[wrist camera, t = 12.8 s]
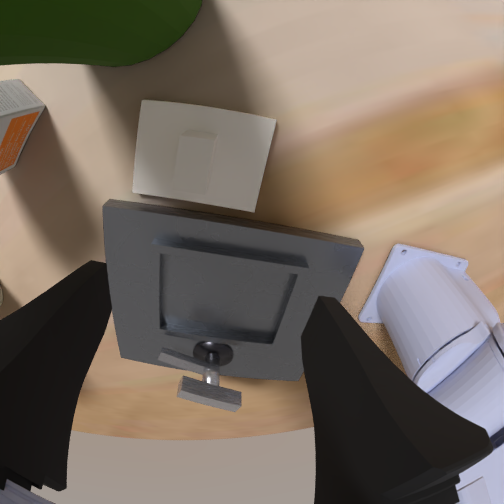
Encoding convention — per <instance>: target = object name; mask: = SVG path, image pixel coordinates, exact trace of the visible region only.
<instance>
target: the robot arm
mask: <svg viewBox="0 0 504 504" xmlns="http://www.w3.org/2000/svg"><path fill="white" fill-rule="evenodd" d="M403 250H404V252H402V251H403ZM401 252H402V253H401ZM467 266H468V261H467V260H466V259H462V258H458V257H454V256H450V255H446V254H442V253H438V252H434V251H429V250H425V249H421V248H416V247H412V246H408V245H403V244H396V245H394V246H393V248H392V250H391V252H390V254H389V257H388V259H387V261H386V263H385V265H384V267H383V269H382V271H381V273H380V275H379V277H378V279H377V282H376V284H375V285H374V287H373V289H372V291H371V293H370V295H369V297H368V299H367V301H366V303H365V305H364V307H363V308H362V310H361V312H360V314H359V316H358V318H359V321H360V322H368V323H384V325H385V327H386V329H387V331H388V333H389V336H390V338H391V340H392V342H393V344H394V346H395V349H396V351H397V353H398V355H399V358H400V360H401V362H402V365H403V367H404V369H405V372H406V374H407V376H408V377H407V376H406V375H405V374H404V373H403V372H402V371H401V370H400V369H399V368H398V367H396V366H395V365H394V364H393V363H392V361H391V360H390V359H389V358H388V357H387V356H386V355H385V354H384V353H383V352H382V351H381V350H380V349H379V348H378V347H377V345H376V344H375V343H374V342H373V341H372V340H371V339H370V338H369V336H368V335H367V334H366V333H365V332H364V331H363V329H362V328H361V327H360V326H359V325H358V323H357V322H356V321H355V320H354V319H353V318H352V316H351V315H350V314H349V313H348V312H347V310H346V309H345V308H344V307H343V306H342V305H341V304H340V303H339V301H338V300H337V299H336V298H335V297H326V296H318V298H317V301H316V303H315V305H314V308H313V310H312V312H311V315H310V317H309V319H308V321H307V324H306V326H305V328H304V330H303V332H302V335H301V351H302V362H303V368H304V373H305V378H306V383H307V388H308V393H309V399H310V404H311V409H312V414H313V421H314V431H315V447H316V448H315V449H316V481H315V499H314V504H504V323H500V319H499V316H498V313H497V311H496V309H495V308H494V306H493V305H492V304H491V302H490V301H489V300H488V299H487V297H486V296H485V295H484V294H483V292H482V291H481V290H480V289H479V288H478V286H477V285H476V284H475V283H474V282H473V281H472V279H471V278H470V277H469V276H468V275H467V274H466V273H465V270H466V268H467ZM111 311H112V303H111V296H110V289H109V281H108V272H107V263H103V262H98V261H92V260H91V261H89V262H87V263H86V264H84V265H83V266H81V267H80V268H78V269H77V270H75V271H74V272H72V273H71V274H70V275H68V276H67V277H65V278H64V279H63V280H61V281H60V282H58V283H57V284H55V285H54V286H53V287H51V288H50V289H48V290H47V291H46V292H44V293H43V294H41V295H40V296H38V297H37V298H35V299H34V300H32V301H31V302H29V303H28V304H26V305H25V306H23V307H22V308H20V309H19V310H17V311H15V312H14V313H12V314H10V315H9V316H7V317H5V318H3V319H2V320H0V504H55V503H53V502H51V501H48V500H46V499H44V498H42V497H40V496H38V495H36V494H34V493H32V492H30V490H31V486H35V487H36V488H38V489H42V486H43V485H45V486H47V487H49V488H52V489H54V490H56V491H62V490H64V489H66V487H67V484H66V483H67V482H66V480H67V459H68V449H69V441H70V434H71V429H72V423H73V418H74V413H75V409H76V405H77V401H78V397H79V393H80V390H81V387H82V384H83V382H84V379H85V377H86V374H87V372H88V369H89V367H90V365H91V362H92V360H93V358H94V355H95V353H96V351H97V349H98V346H99V344H100V342H101V340H102V337H103V335H104V333H105V330H106V327H107V324H108V320H109V317H110V314H111Z"/></svg>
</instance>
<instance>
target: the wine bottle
mask: <svg viewBox="0 0 504 504" xmlns="http://www.w3.org/2000/svg"><path fill="white" fill-rule="evenodd" d="M201 5H202V0H0V65H12V64H32V63H65V64H86V65H100V66H110V67H118V66H127V65H133V64H136V63H139V62H142V61H145V60H148V59H150V58H152V57H154V56H155V55H157V54H159V53H161V52H162V51H164V50H166V49H167V48H169V47H170V46H171V45H172V44H173V43H174V42H176V41H177V40H178V39H179V38H180V37H181V36H183V34H184V33H185V32H186V30H187V29H188V28H189V27H190V25H191V24H192V23H193V22H194V20H195V18H196V16H197V13H198V11H199V9H200V7H201Z"/></svg>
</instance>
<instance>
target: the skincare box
mask: <svg viewBox="0 0 504 504" xmlns="http://www.w3.org/2000/svg"><path fill="white" fill-rule="evenodd" d="M44 108H45V104H44V103H43V102H41V101H40V100H39V99H38V98H37V97H36V96H35V95H34V94H33V93H32V92H31V91H30V90H29V89H28V88H27V87H26V86H25V85H24V84H23V83H22V81H21V80H20V79H13V80H5V81H0V175H1V174H2V173H4V172H6V171H8V170H10V169H12V168H13V167H15V165H16V163H17V160H18V157H19V155H20V153H21V151H22V149H23V147H24V145H25V142H26V140H27V138H28V136H29V134H30V132H31V131H32V129H33V127H34V125H35V124H36V122H37V120H38V118H39V117H40V115H41V113H42V112H43V110H44Z"/></svg>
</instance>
